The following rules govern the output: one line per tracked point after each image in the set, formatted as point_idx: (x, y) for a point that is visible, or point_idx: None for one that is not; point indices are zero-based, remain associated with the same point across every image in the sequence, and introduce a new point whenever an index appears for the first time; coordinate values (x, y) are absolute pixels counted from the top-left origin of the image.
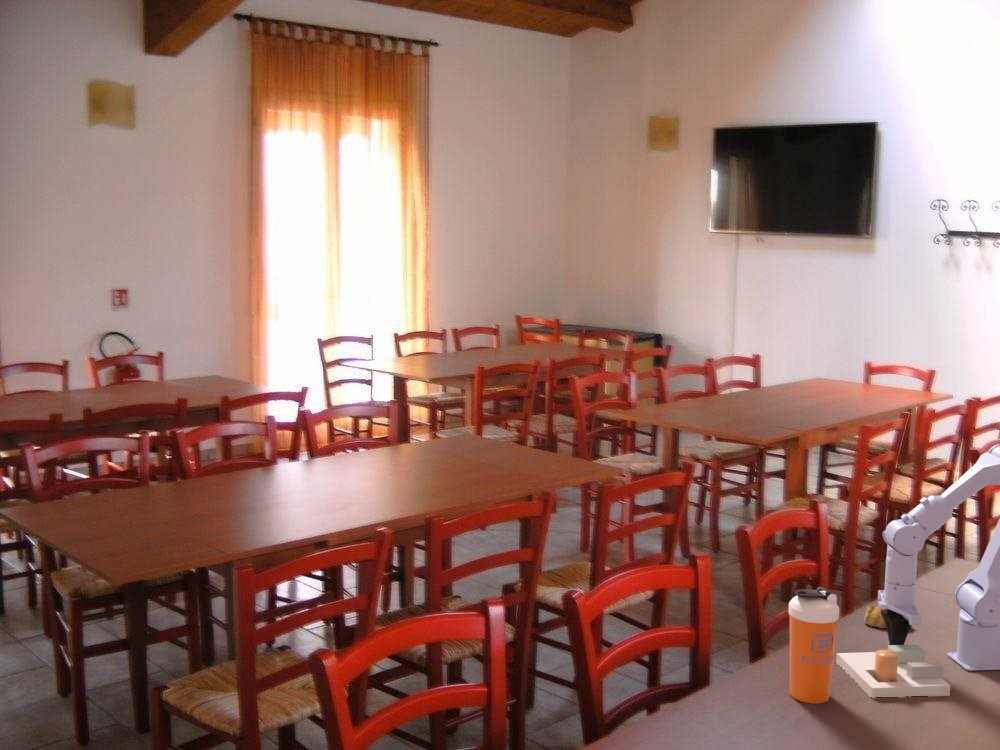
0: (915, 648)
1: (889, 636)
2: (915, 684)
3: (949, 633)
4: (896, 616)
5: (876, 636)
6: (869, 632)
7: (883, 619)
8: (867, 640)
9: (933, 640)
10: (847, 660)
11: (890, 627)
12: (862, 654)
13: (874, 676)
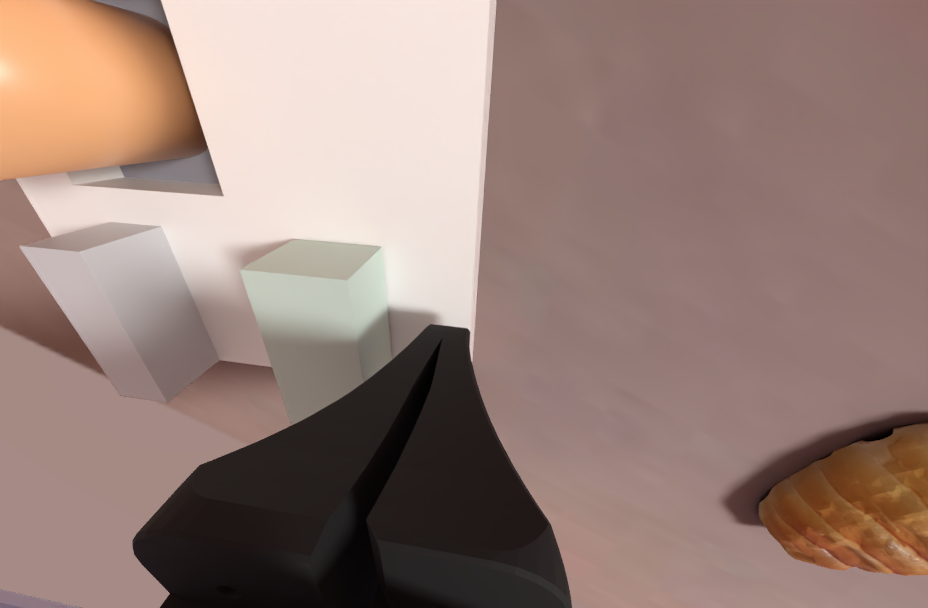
0: (313, 402)
1: (443, 358)
2: (54, 209)
3: (658, 569)
4: (205, 588)
5: (781, 383)
6: (850, 381)
7: (886, 497)
8: (764, 319)
9: (627, 516)
10: None
11: (364, 410)
12: (444, 98)
13: (97, 2)
